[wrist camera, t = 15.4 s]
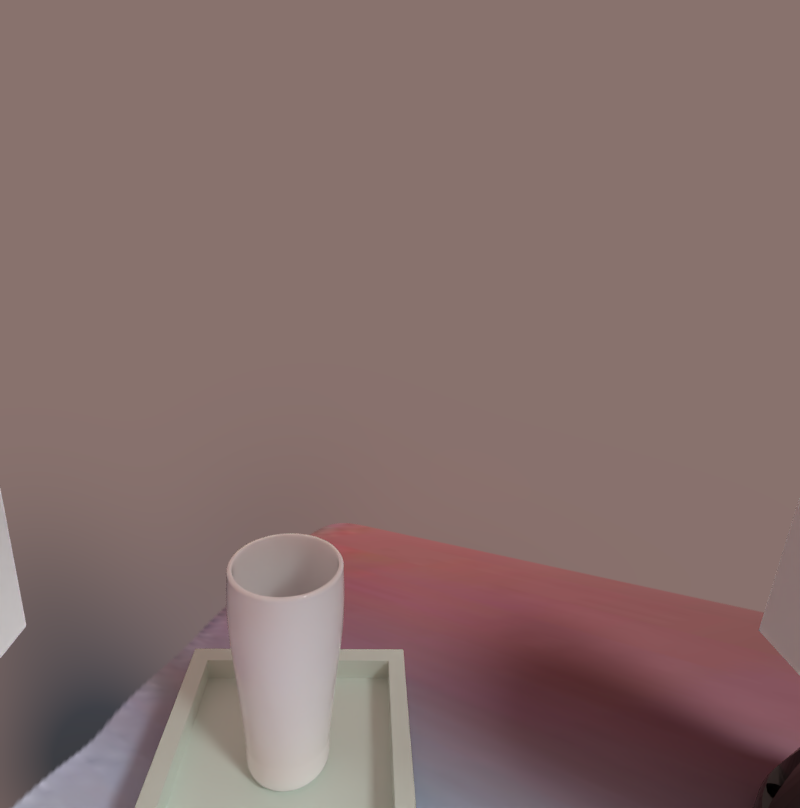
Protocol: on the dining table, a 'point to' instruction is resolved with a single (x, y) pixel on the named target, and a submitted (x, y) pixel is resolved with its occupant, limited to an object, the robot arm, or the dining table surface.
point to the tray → (226, 750)
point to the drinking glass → (286, 653)
